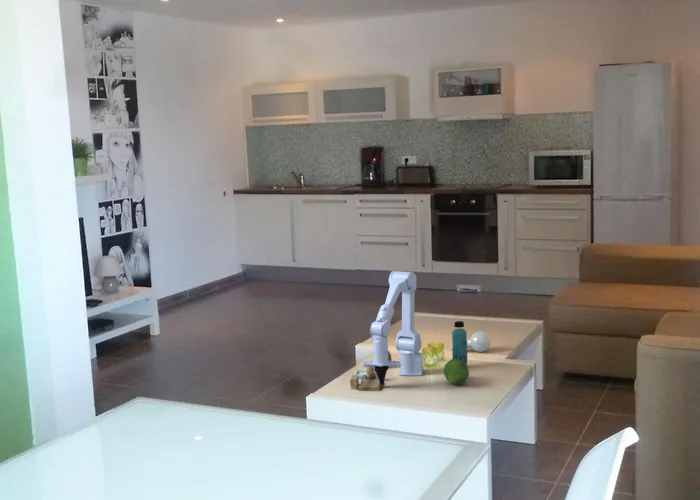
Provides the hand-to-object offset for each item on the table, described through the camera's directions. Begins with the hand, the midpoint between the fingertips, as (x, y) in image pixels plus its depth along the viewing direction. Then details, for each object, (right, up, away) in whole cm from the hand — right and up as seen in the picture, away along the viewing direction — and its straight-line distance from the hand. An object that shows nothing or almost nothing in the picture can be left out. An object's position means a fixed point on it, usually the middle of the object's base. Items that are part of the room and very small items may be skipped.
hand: (382, 384), depth 324 cm
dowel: (-4, 0, +9) cm, 10 cm away
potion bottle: (+44, +7, +48) cm, 65 cm away
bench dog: (-11, -1, +2) cm, 11 cm away
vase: (+2, +3, +29) cm, 30 cm away
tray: (-7, +1, +16) cm, 18 cm away
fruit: (+30, 0, +2) cm, 30 cm away
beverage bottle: (+34, +3, +23) cm, 42 cm away
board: (-5, -2, +1) cm, 5 cm away
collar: (-4, 0, +9) cm, 10 cm away
